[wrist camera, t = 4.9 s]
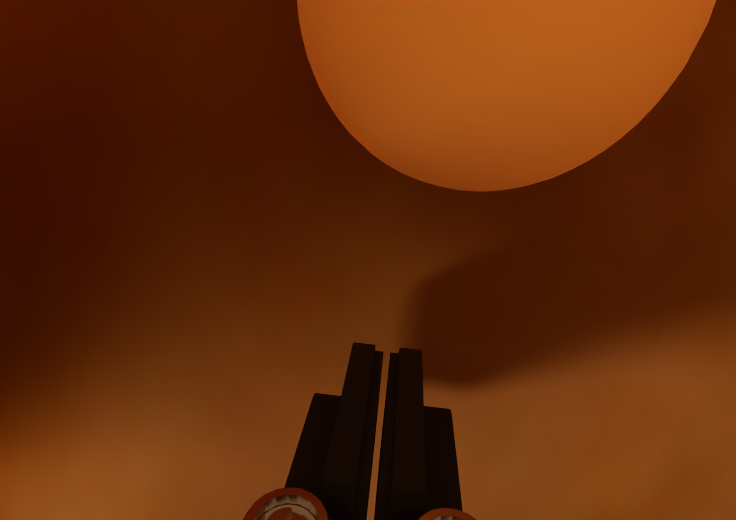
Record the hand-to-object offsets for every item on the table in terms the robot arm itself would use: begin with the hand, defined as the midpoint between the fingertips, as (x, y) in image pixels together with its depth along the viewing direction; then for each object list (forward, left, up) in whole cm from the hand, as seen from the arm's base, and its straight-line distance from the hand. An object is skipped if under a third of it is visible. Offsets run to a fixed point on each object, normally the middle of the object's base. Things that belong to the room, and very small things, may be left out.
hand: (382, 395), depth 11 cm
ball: (+1, +8, +1) cm, 9 cm away
